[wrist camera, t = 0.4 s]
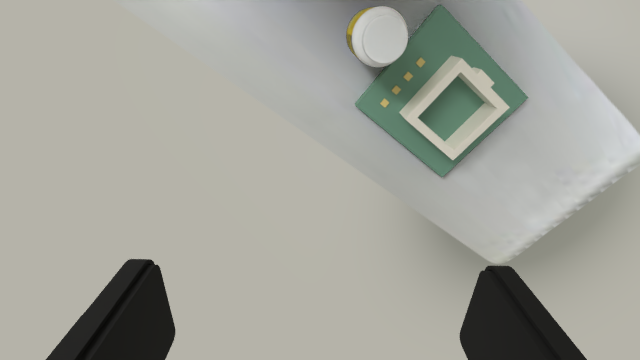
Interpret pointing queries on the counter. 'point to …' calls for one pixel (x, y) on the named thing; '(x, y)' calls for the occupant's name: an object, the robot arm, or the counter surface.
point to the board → (441, 94)
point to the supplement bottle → (377, 35)
